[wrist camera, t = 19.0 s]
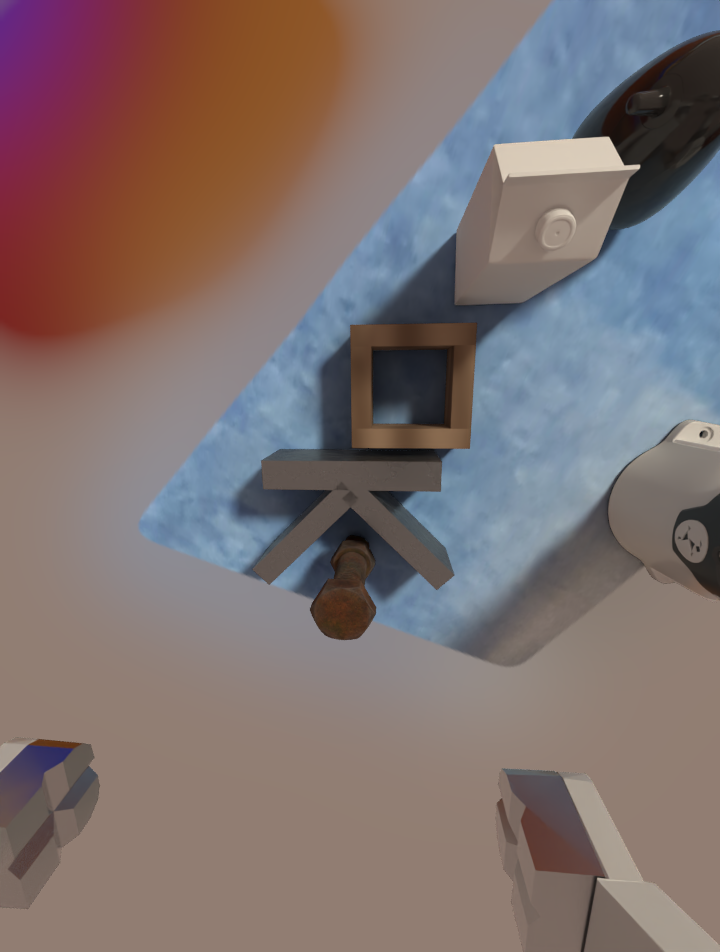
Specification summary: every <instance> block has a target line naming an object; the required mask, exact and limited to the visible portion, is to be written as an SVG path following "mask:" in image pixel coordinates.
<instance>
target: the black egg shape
mask: <svg viewBox="0 0 720 952" xmlns="http://www.w3.org/2000/svg"><path fill="white" fill-rule="evenodd" d="M594 137H609V138H610V140H611V142H612V143H613V145H614V147H615V149H616V151H617V153H618V155H619V157H620V158H621V160H622V162H623V164H624V166H626V165H640V169H639V170H638V171H636V172H635V173H634V174H633V175H632V176H631V177H629V180H628V182H627V184H626V187H625V189H624V192H623V194H622V197H621V199H620V202H619V204H618V207H617V209H616V212H615V214H614V217H613V219H612V222H611V224H610V226H609V229H610V230H617V229H624V228H629V227H632V226H635V225H637V224H639V223H642V222H643V221H645V220H647V219H649V218H650V217H652V216H653V215H655V214H656V213H658V212H659V211H660V210H662V209H663V208H664V207H665V206H667V205H668V204H669V203H670V202H671V201H672V200H673V199H674V198H676V197H677V196H678V195H679V194H680V193H681V192H682V191H683V190H684V189H685V188H686V187H687V186H688V185H689V184H690V183H691V182H692V181H693V180H694V179H695V178H696V177H697V176H698V175H699V174H700V173H701V171H702V170H703V169H704V168H705V167H706V166H707V165H708V163H709V162H710V161H711V160H712V158H713V157H714V156H715V155H716V153H717V152H718V151H719V150H720V30H718V31H712V32H708V33H705V34H701V35H698V36H696V37H693V38H691V39H689V40H686V41H684V42H682V43H680V44H678V45H676V46H675V47H673V48H671V49H669V50H668V51H666V52H664V53H663V54H661V55H660V56H658V57H657V58H655V59H654V60H652V61H651V62H649V63H648V64H646V65H645V66H643V67H642V68H640V69H639V70H638V71H636V72H635V73H634V74H632V75H631V76H630V77H628V78H627V79H626V80H625V81H623V82H622V83H621V84H620V85H619V86H617V87H616V88H615V89H614V90H613V91H612V92H611V93H610V94H609V95H607V96H606V97H605V98H604V99H603V100H602V101H601V102H600V103H599V104H598V105H597V106H596V107H595V108H594V109H593V110H592V111H591V112H590V114H589V115H588V116H587V117H586V118H585V120H584V121H583V122H582V124H581V125H580V126H579V128H578V129H577V131H576V133H575V134H574V136H573V138H572V139H579V138H594Z"/></svg>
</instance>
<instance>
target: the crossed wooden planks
mask: <svg viewBox="0 0 720 952" xmlns="http://www.w3.org/2000/svg"><path fill="white" fill-rule="evenodd" d="M261 464H262V479H263V489H283V490H325V491H324V492H323V493H322V494H321V495H320V496H319V497H318V498H317V499H316V500H315V501H314V502H313V503H312V504H311V505H310V506H309V507H308V508H307V509H306V510H305V511H304V512H303V513H302V514H301V515H300V516H299V517H298V518H297V519H296V520H295V521H294V522H293V523H292V524H291V525H290V526H289V527H288V528H287V529H286V530H285V531H284V532H283V533H282V534H281V535H280V536H279V537H278V538H277V539H276V540H275V541H274V542H273V543H271V545H270V546H269V547H268V549H267V550H266V552H265V553H264V554H263V556H262V557H261V558H260V560H259V561H258V562H257V564H256V565H255V566H254V568H253V569H252V570H253V571H255V572H256V573H257V574H258V575H259V576H260V577H261V578H262V579H263V580H264V581H266V582H267V583H268V584H269V585H270V584H271V583H272V582H273V581H274V580H275V579H276V578H277V577H278V576H279V575H280V574H281V573H282V572H283V571H284V570H285V569H286V568H287V567H288V566H290V565H291V564H292V563H293V562H294V561H295V560H296V559H297V558H298V557H299V556H300V555H301V554H302V553H303V552H304V551H305V550H306V549H307V548H308V547H309V546H310V545H312V544H313V543H314V542H315V541H316V540H317V539H318V538H319V537H320V536H321V535H322V534H323V533H324V532H325V531H326V530H327V529H328V528H329V527H330V526H331V525H332V524H333V523H335V522H336V521H337V520H338V519H339V518H340V517H341V516H342V515H343V514H344V513H345V512H346V511H347V510H348V509H349V508H350V507H351V508H352V509H353V510H354V511H355V512H356V513H357V514H358V515H359V516H360V517H361V518H362V519H364V520H365V521H366V522H367V523H368V524H369V525H370V526H371V527H372V528H373V529H374V530H375V531H376V532H377V533H378V534H379V535H380V536H381V537H382V538H383V539H384V540H385V541H386V542H387V543H388V544H389V545H391V546H392V547H393V548H394V549H395V550H396V551H397V552H398V553H399V554H400V555H401V556H402V557H403V558H404V559H405V560H406V561H407V562H408V563H409V564H410V565H411V566H412V567H413V568H414V569H415V570H416V571H417V572H419V573H420V574H421V575H422V576H423V577H424V578H425V579H426V580H427V581H428V582H429V583H430V584H431V585H432V586H433V587H434V588H435V589H436V590H437V589H439V588H440V587H441V586H442V585H443V584H445V583H446V582H447V581H448V580H449V579H451V578H452V577H453V576H454V572H453V569H452V566H451V563H450V560H449V557H448V554H447V551H446V548H445V547H444V546H443V545H442V544H441V543H440V542H439V541H438V540H437V539H436V538H435V537H434V536H433V535H432V534H431V533H430V532H429V531H428V530H427V529H426V528H425V527H424V526H423V525H422V524H421V523H420V522H419V521H418V520H417V519H416V518H415V517H413V516H412V515H411V514H410V513H409V512H408V511H407V510H406V509H405V508H404V507H403V506H402V505H401V504H400V503H399V502H398V501H397V500H396V499H395V498H394V497H393V496H392V495H391V494H390V493H389V492H388V491H436V492H441V473H442V461H441V460H440V458H439V457H438V455H437V454H436V452H435V451H434V450H342V449H279V450H278V451H276V452H275V453H273V454H271V455H270V456H268V457H266V458H265V459H263V460H261Z"/></svg>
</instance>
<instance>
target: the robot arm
mask: <svg viewBox="0 0 720 952" xmlns="http://www.w3.org/2000/svg"><path fill="white" fill-rule="evenodd" d="M701 431H703V434H702V436H701V437H700V436H699V434H700V432H701ZM608 517H609V523H610V527H611V530H612V532H613V534H614V536H615V538H616V539H617V541H618V542H619V543H620V544H621V546H622V547H623V548H625V549H626V550H627V551H628V552H629V553H631V554H632V555H634V556H635V557H637V558H638V559H640V560H641V561H642V562H643V564H644V565H645V567H646V569H647V571H648V572H649V574H650V575H651V576H652V578H654V579H655V580H657V581H659V582H661V583H665V584H667V583H675V582H676V583H678V584H679V585H681V586H683V587H685V588H686V589H688V590H690V591H692V592H694V593H695V594H697V595H699V596H701V597H702V598H704V599H706V600H709V601H713V602H716V601H717V600H720V425H716V424H711V423H706V422H701V421H695V420H686V421H683V422H682V423H680V424H679V425H678V426H677V427H676V428H675V429H674V430H673V431H672V432H671V433H670V434H669V435H668V437H667V438H666V439H665V440H664V441H663V442H662V443H660V444H659V445H657V446H656V447H654V448H652V449H650V450H649V451H647V452H645V453H643V454H642V455H640V456H639V457H638V458H636V459H635V460H634V461H633V462H632V463H631V464H630V465H629V466H628V467H627V468H626V469H625V470H624V471H623V472H622V474H621V475H620V477H619V478H618V480H617V481H616V483H615V485H614V488H613V490H612V493H611V496H610V500H609V507H608ZM93 759H94V754H93V751H92V747H91V744H85V743H76V742H64V741H55V740H44V739H31V738H19V737H16V738H14V739H12V740H10V741H8V742H5V743H4V744H3V745H2V746H1V747H0V907H2V908H21V909H28V908H29V907H30V905H31V904H32V902H33V901H34V900H35V898H36V897H37V895H38V894H39V892H40V891H41V889H42V888H43V887H44V885H45V884H46V882H47V881H48V879H49V878H50V876H51V875H52V873H53V872H54V871H55V869H56V868H57V866H58V865H59V863H60V858H61V850H62V847H64V846H65V845H66V844H68V843H69V842H70V841H72V840H73V839H74V838H76V837H77V836H78V835H79V834H80V832H81V831H82V830H83V828H84V827H85V825H86V824H87V822H88V821H89V819H90V818H91V815H92V813H93V810H94V808H95V805H96V803H97V800H98V795H99V787H100V784H99V779H98V775H97V774H96V773H95V772H94V771H93V770H92V769H91V768H90V767H89V765H90V763H91V762H92V760H93ZM498 784H499V788H500V792H501V796H502V798H501V799H500V801H498V802H497V805H496V829H497V839H498V845H499V851H500V856H501V860H502V864H503V868H504V870H505V872H506V873H507V874H508V875H509V877H510V878H511V879H512V881H513V890H512V899H511V903H512V907H513V911H514V915H515V920H516V924H517V927H518V932H519V936H520V940H521V945H522V948H523V952H720V945H719V944H717V942H715V941H714V940H713V939H712V938H711V937H710V936H709V935H708V934H707V933H706V932H705V931H704V930H703V929H702V928H701V927H700V926H699V925H698V924H697V923H696V922H695V921H694V920H692V919H691V918H690V917H689V916H688V915H687V914H686V913H685V912H684V911H683V910H682V909H681V908H680V907H679V906H678V905H677V904H676V903H675V902H674V901H673V900H672V899H671V898H669V897H668V896H667V895H666V894H665V893H664V892H663V891H662V890H661V889H660V888H659V887H658V886H657V885H656V884H654V883H652V882H645V881H643V879H642V877H641V875H640V873H639V871H638V869H637V867H636V865H635V863H634V861H633V859H632V857H631V855H630V854H629V852H628V850H627V848H626V846H625V844H624V842H623V840H622V838H621V836H620V834H619V832H618V830H617V828H616V826H615V825H614V823H613V821H612V819H611V817H610V815H609V813H608V811H607V809H606V807H605V805H604V803H603V801H602V799H601V797H600V795H599V794H598V792H597V790H596V788H595V786H594V784H593V782H592V780H591V779H590V778H589V777H588V776H587V775H586V774H585V773H569V772H555V771H542V770H522V769H520V770H519V769H501V771H500V774H499V783H498Z"/></svg>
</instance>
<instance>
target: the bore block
mask: <svg viewBox="0 0 720 952" xmlns="http://www.w3.org/2000/svg"><path fill="white" fill-rule="evenodd" d="M350 333H351V418H352V448H452V449H470V437H471V419H472V402H473V385H474V368H475V350H476V333H477V323H432V324H376V325H350ZM373 350H447V366H446V389H445V413H444V424H373Z"/></svg>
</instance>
